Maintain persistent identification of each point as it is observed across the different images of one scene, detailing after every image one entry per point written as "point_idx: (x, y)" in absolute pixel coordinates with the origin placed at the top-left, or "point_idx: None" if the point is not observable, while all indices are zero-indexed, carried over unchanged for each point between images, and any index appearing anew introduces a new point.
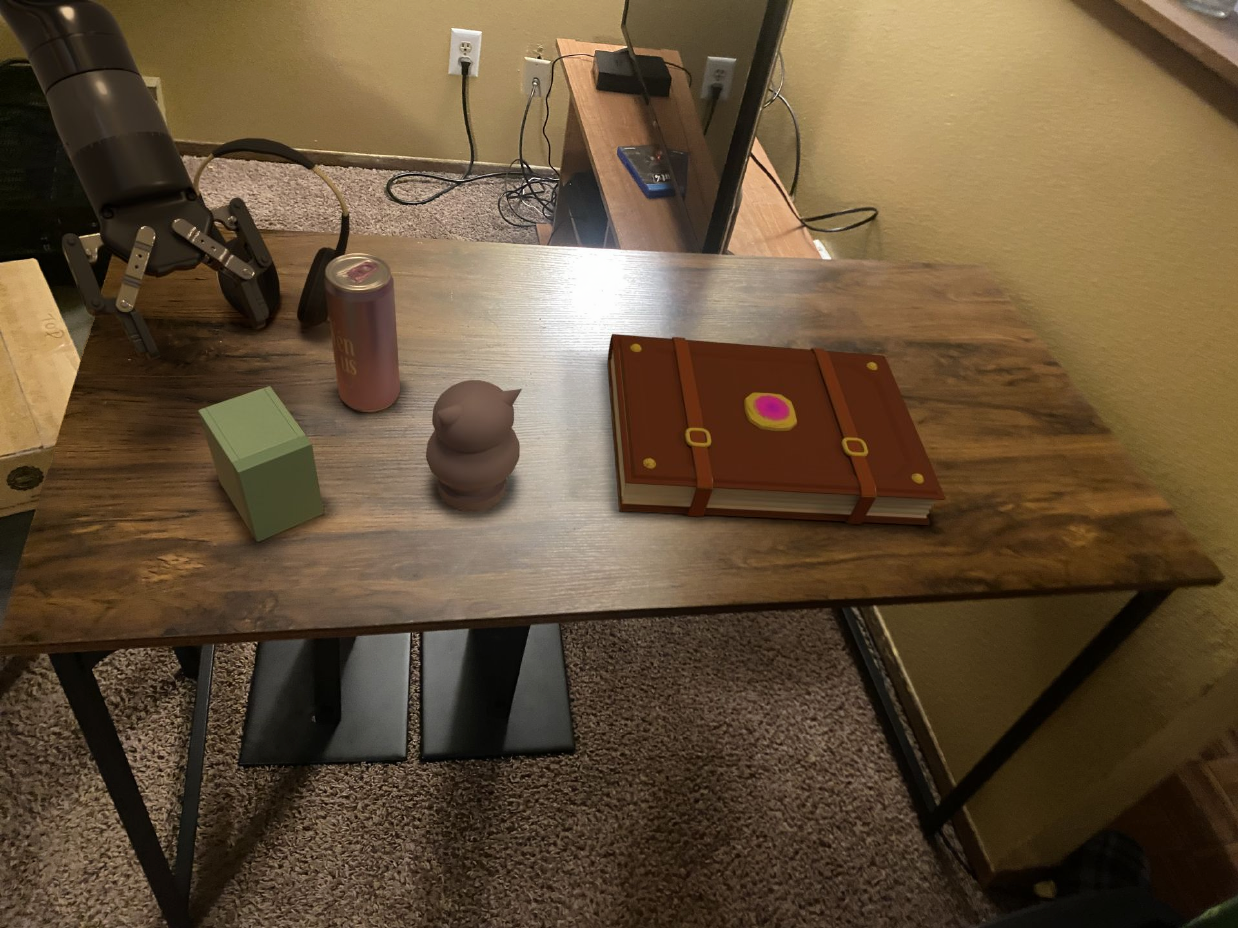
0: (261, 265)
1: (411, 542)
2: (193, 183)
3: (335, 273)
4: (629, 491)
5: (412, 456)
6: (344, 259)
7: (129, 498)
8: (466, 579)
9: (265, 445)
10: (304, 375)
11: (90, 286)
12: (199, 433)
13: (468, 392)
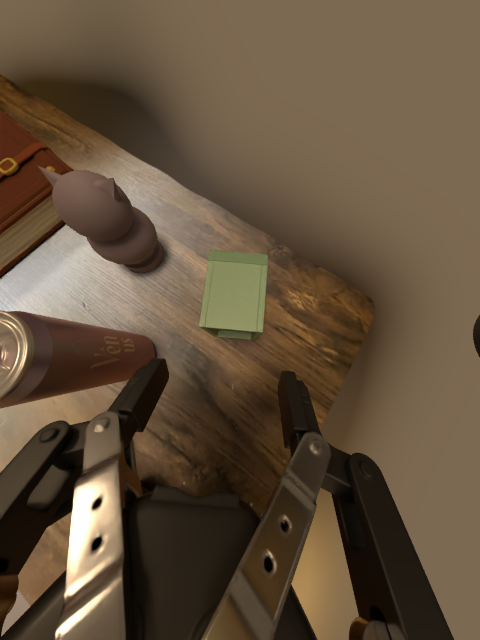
0: (68, 427)
1: (195, 243)
2: None
3: (6, 374)
4: None
5: (153, 292)
6: None
7: (302, 359)
8: (189, 211)
9: (238, 267)
10: (158, 402)
11: (381, 518)
12: (245, 389)
13: (74, 182)
